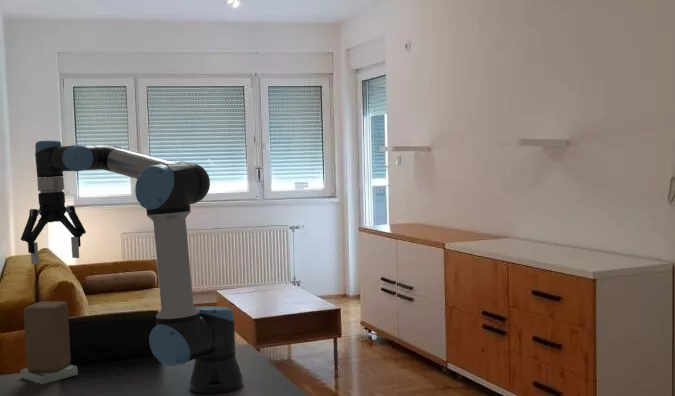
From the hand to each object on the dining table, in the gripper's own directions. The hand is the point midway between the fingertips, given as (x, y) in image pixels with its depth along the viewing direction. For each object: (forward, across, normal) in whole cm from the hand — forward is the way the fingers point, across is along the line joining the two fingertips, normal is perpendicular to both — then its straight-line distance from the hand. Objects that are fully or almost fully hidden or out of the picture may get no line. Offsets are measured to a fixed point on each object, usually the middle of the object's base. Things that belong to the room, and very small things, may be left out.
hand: (56, 260), depth 233 cm
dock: (+36, +2, -4) cm, 36 cm away
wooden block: (+33, +2, -4) cm, 34 cm away
